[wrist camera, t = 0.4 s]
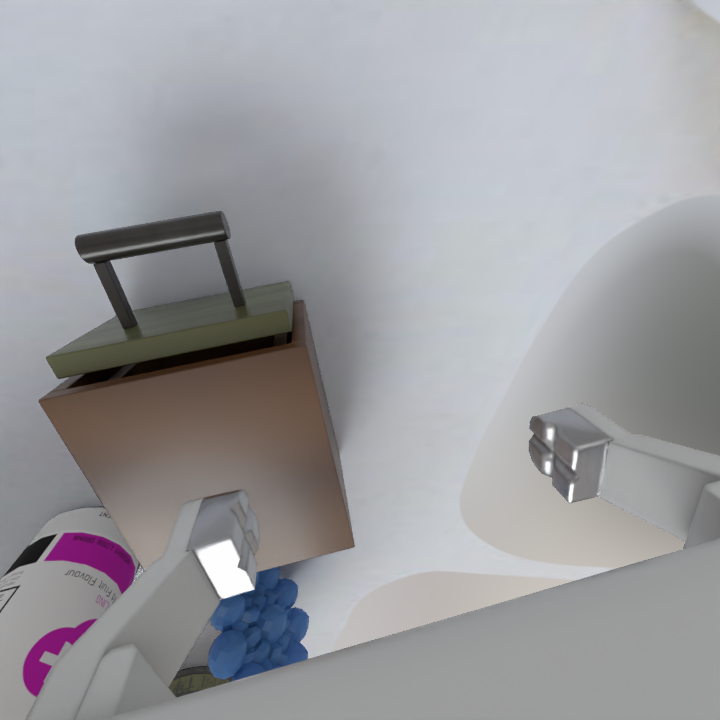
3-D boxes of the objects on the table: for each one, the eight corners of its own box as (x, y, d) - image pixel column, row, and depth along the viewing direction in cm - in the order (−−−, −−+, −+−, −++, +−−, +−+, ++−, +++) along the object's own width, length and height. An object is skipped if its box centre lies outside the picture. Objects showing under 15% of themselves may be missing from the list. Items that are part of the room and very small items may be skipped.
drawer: (85, 236, 22) (-19, 249, 14) (271, 204, 22) (259, 202, 15) (191, 469, 29) (157, 552, 22) (327, 437, 30) (336, 508, 23)
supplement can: (135, 495, 30) (3, 730, 17) (158, 562, 34) (63, 803, 20) (29, 508, 29) (-207, 771, 16) (64, 576, 32) (-106, 842, 19)
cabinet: (128, 334, 25) (36, 400, 16) (303, 299, 26) (306, 344, 17) (199, 488, 31) (160, 597, 22) (339, 455, 32) (354, 547, 23)
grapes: (193, 556, 34) (143, 720, 23) (249, 520, 33) (225, 672, 22) (271, 610, 39) (260, 768, 28) (321, 580, 38) (330, 728, 27)
